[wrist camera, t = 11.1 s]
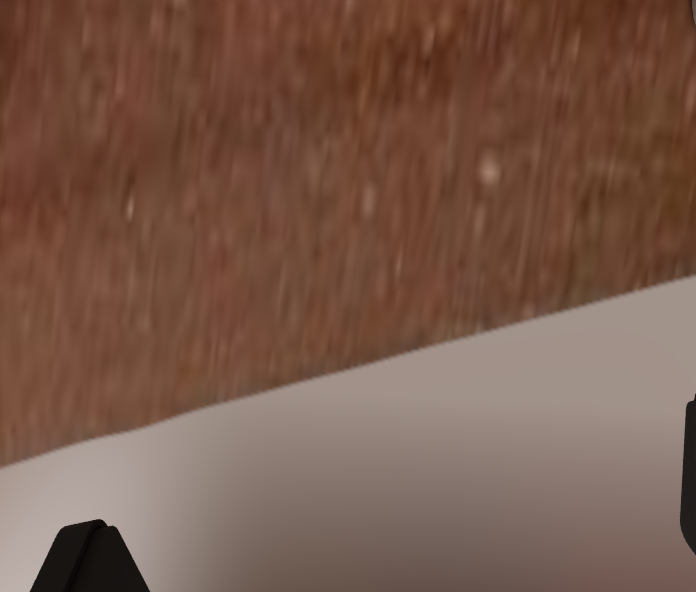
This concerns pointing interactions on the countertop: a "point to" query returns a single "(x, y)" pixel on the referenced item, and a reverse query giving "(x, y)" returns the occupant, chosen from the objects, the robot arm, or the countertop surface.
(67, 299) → the countertop surface
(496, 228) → the countertop surface
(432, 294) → the countertop surface
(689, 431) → the robot arm
